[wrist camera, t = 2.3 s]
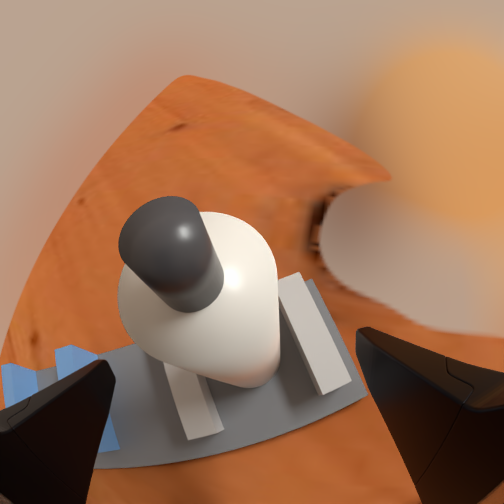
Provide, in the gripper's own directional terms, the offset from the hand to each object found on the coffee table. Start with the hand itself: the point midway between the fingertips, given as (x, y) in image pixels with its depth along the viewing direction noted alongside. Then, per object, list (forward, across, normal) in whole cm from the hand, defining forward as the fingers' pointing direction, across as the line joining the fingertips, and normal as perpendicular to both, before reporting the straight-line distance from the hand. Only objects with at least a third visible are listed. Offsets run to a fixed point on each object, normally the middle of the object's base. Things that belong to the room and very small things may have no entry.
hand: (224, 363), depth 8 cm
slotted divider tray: (+6, +8, +8) cm, 12 cm away
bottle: (+7, 0, +5) cm, 9 cm away
